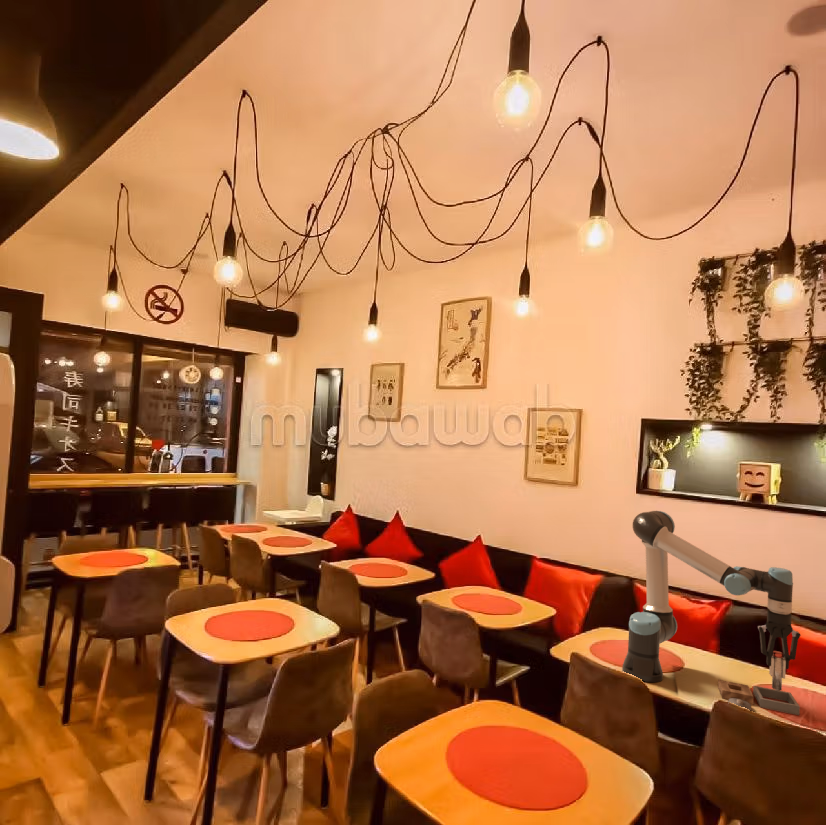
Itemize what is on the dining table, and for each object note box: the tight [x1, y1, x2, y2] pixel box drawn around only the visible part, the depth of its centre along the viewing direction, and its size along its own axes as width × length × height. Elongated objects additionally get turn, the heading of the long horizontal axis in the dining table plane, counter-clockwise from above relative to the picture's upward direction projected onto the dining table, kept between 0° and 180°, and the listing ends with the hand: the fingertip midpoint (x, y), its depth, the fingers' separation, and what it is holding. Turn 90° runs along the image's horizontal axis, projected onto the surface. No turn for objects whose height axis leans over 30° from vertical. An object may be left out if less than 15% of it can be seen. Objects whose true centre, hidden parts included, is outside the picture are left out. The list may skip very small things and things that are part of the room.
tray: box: [752, 685, 801, 716], centre depth 205 cm, size 12×12×4 cm
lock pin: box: [771, 650, 784, 691], centre depth 206 cm, size 3×3×13 cm
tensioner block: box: [717, 679, 755, 711], centre depth 206 cm, size 10×18×4 cm, turn 159°
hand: (777, 676), depth 206 cm, fingers closed on lock pin, 3 cm apart
